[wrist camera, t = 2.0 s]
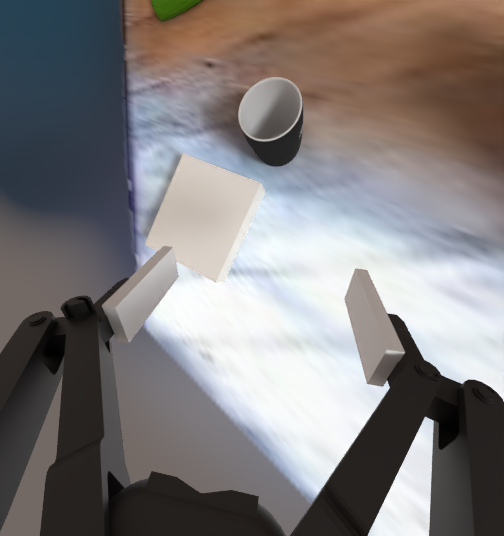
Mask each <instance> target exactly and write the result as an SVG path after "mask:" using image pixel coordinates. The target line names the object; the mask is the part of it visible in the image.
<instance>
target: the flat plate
mask: <svg viewBox="0 0 504 536" xmlns="http://www.w3.org/2000/svg"><path fill="white" fill-rule="evenodd" d="M265 193H266V191H265V189H264V188H263V186H262V184H261V183H260V182H257V181H254V180H252V179H249V178H246V177H244V176H241V175H239V174H236V173H233V172H231V171H228V170H225V169H223V168H220V167H218V166H215V165H212V164H210V163H207V162H204V161H202V160H199V159H197V158H194V157H191V156H189V155H186V154H183V155H182V157H181V159H180V162H179V164H178V166H177V169H176V171H175V174H174V176H173V178H172V181H171V183H170V185H169V188H168V190H167V192H166V195H165V197H164V200H163V202H162V204H161V207H160V209H159V211H158V214H157V216H156V218H155V221H154V223H153V226H152V228H151V230H150V233H149V235H148V237H147V240H146V242H145V245H147V246H149V247H151V248H152V249H154V250H156V251H159V250H160V249H161V248H162V247H163V246H170V247H173V248H174V254H175V260H176V261H177V262H179V263H181V264H182V265H184V266H186V267H188V268H190V269H192V270H194V271H195V272H197V273H199V274H201V275H203V276H205V277H207V278H209V279H210V280H212V281H214V282H225V280H226V278H227V275H228V273H229V271H230V269H231V267H232V265H233V262H234V260H235V258H236V256H237V254H238V252H239V249H240V247H241V245H242V243H243V241H244V238H245V236H246V234H247V232H248V230H249V228H250V225H251V223H252V221H253V219H254V217H255V215H256V212H257V210H258V208H259V206H260V204H261V201H262V199H263V197H264V195H265Z"/></svg>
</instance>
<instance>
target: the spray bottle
mask: <svg viewBox="0 0 504 536" xmlns="http://www.w3.org/2000/svg"><path fill="white" fill-rule="evenodd" d="M201 1H202V0H151V2H152V6H153V8H154V10H155V12H156V14H157V16H158V18H159V19H160V20H161V21H165V20H169V19H171V18H173V17H175V16H177V15H179V14H181V13H183V12H185V11H187V10H188V9H190V8H192V7H193V6H195V5H196V4H198V3H199V2H201Z"/></svg>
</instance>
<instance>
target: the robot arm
mask: <svg viewBox="0 0 504 536" xmlns="http://www.w3.org/2000/svg"><path fill="white" fill-rule="evenodd" d="M177 278H178V272H177V266H176V260H175V254H174V248H173V247H170V246H163V247H162V248H161V249H160V250H159V251H158V252H157V253H156V254H155V255H154V256H153V257H151V258H150V259H149V260H148V261H147V262H146V263H145V264H144V265H143V266H142V267H141V268H140V269H139V270H138V271H137V272H136V273H135V274H134V275H133V276H132V277H131V278H125V279H123V280H121V281H119V282H117V283H116V284H115V285H114V286H113V287H112V289H110V290H109V291H108V292H107V293H105V295H103V296H102V297H101V298H100V299H99V300H98V301H97V302H96V303H95V304H93V302H92V300H91V298H90V297H88V296H78V297H74V298H71V299H69V300H68V301H66V302H65V303H64V304H63V305H62V306H61V310H62V312H63V314H64V315H65V317H59V318H55V317H54V315H53V314H52V313H51V312H48V311H42V312H38V313H35V314H33V315H31V316H29V317H27V318H26V319H25V320H24V321H23V322H22V323H21V324H20V326H19V327H18V329H17V330H16V332H15V333H14V334H13V336H12V338H11V339H10V340H9V342H8V343H7V345H6V346H5V348H4V349H3V351H2V352H1V354H0V531H1V529H2V526H3V524H4V522H5V519H6V517H7V515H8V512H9V510H10V507H11V504H12V502H13V499H14V497H15V494H16V492H17V489H18V487H19V484H20V481H21V479H22V476H23V474H24V471H25V469H26V466H27V464H28V461H29V459H30V456H31V453H32V451H33V448H34V446H35V443H36V441H37V438H38V435H39V433H40V431H41V428H42V426H43V423H44V420H45V418H46V415H47V413H48V410H49V408H50V405H51V403H52V400H53V397H54V395H55V392H56V390H57V387H58V385H59V382H60V379H61V377H62V375H63V381H62V393H61V406H60V419H59V431H58V445H57V456H56V461H55V463H54V464H52V465H51V466H50V467H49V469H48V471H47V476H46V482H45V491H44V502H43V511H42V520H41V531H40V536H286V535H285V533H284V532H283V530H282V528H281V526H280V525H279V523H278V522H277V521H276V519H275V518H274V517H273V515H272V514H271V513H270V512H269V511H268V510H267V509H265V508H264V507H263V506H261V505H260V504H259V503H258V496H254V495H250V494H246V493H241V492H237V491H233V490H229V491H220V492H211V493H199V492H198V491H196V490H195V489H193V488H192V487H190V486H189V485H188V484H186V483H184V482H183V481H182V480H180V479H179V478H177V477H174V476H170V475H166V474H161V473H157V472H153V471H152V472H151V474H150V477H149V479H144V480H141V481H138V482H136V483H134V484H130V479H129V475H128V472H127V468H126V465H125V458H124V449H123V440H122V432H121V423H120V415H119V406H118V397H117V389H116V380H115V371H114V363H113V354H112V346H111V342H110V338H111V337H112V336H113V335H115V338H116V340H117V341H121V342H127V343H130V341H131V340H132V339H133V337H134V335H135V334H136V333H137V332H138V330H139V329H140V328H141V326H142V325H143V324H144V322H145V321H146V320H147V318H148V317H149V316H150V314H151V313H152V312H153V310H154V309H155V308H156V306H157V305H158V304H159V302H160V301H161V299H162V298H163V297H164V295H165V294H166V293H167V291H168V290H169V289H170V287H171V286H172V285H173V283H174V282H175V281H176V279H177ZM345 303H346V306H347V310H348V314H349V318H350V321H351V325H352V329H353V333H354V336H355V340H356V344H357V348H358V352H359V355H360V359H361V363H362V367H363V370H364V374H365V378H366V382H367V384H371V385H377V386H382V387H383V386H384V384H385V383H386V381H388V384H389V386H390V389H389V390H388V392H387V393H386V395H385V396H384V397H383V399H382V401H381V402H380V403H379V405H378V406H377V408H376V409H375V411H374V412H373V414H372V415H371V417H370V418H369V420H368V421H367V423H366V424H365V426H364V427H363V429H362V430H361V432H360V433H359V435H358V436H357V438H356V439H355V441H354V442H353V443H352V445H351V446H350V448H349V449H348V451H347V452H346V454H345V455H344V457H343V458H342V460H341V461H340V463H339V464H338V466H337V467H336V469H335V470H334V472H333V473H332V475H331V476H330V478H329V479H328V480H327V482H326V483H325V485H324V486H323V488H322V489H321V491H320V492H319V494H318V495H317V497H316V498H315V500H314V501H313V503H312V504H311V506H310V508H309V509H308V510H307V512H306V513H305V514H304V516H303V517H302V519H301V520H300V522H299V523H298V525H297V526H296V528H295V529H294V531H293V532H292V534H291V535H290V536H368V533H369V531H370V529H371V527H372V525H373V523H374V521H375V519H376V516H377V514H378V512H379V510H380V508H381V506H382V504H383V502H384V500H385V498H386V496H387V494H388V492H389V490H390V488H391V486H392V484H393V481H394V479H395V477H396V475H397V473H398V471H399V469H400V467H401V465H402V463H403V461H404V459H405V457H406V455H407V453H408V451H409V448H410V446H411V444H412V442H413V440H414V438H415V436H416V434H417V432H418V430H419V428H420V426H421V424H422V422H423V420H424V418H425V417H427V418H429V419H432V420H434V431H433V455H432V480H431V505H430V530H429V536H504V402H503V399H502V398H501V397H500V396H499V394H498V393H497V392H496V391H494V390H493V389H492V388H491V387H489V386H488V385H486V384H484V383H482V382H479V381H477V380H467V381H465V382H464V383H463V384H461V383H458V382H456V381H453V380H451V379H448V378H446V377H444V376H442V375H441V374H440V372H439V371H438V370H437V368H436V367H435V366H433V365H432V364H431V363H429V362H427V361H425V360H424V359H423V357H422V355H421V353H420V351H419V349H418V348H417V346H416V344H415V342H414V340H413V338H412V337H411V334H410V332H409V331H408V329H407V327H406V325H405V323H404V321H402V320H401V319H400V318H399V317H398V316H397V315H394V314H387V312H386V310H385V308H384V306H383V304H382V301H381V299H380V297H379V295H378V293H377V291H376V288H375V286H374V284H373V282H372V280H371V278H370V276H369V273H368V271H367V270H363V269H355V271H354V274H353V276H352V279H351V282H350V285H349V288H348V291H347V294H346V296H345Z"/></svg>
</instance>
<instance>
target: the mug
mask: <svg viewBox="0 0 504 536" xmlns="http://www.w3.org/2000/svg"><path fill="white" fill-rule="evenodd" d="M238 120H239V124H240V127H241V130H242V132H243V134H244V136H245V137H246V139H247V141H248V143H249V144H250V146H251V147H252V149H253V150H254V151H255V153H256V154H257V155H258V156H259V158H260V159H261V160H262V161H264V162H265V163H266V164H268V165H271V166H283V165H285V164H287V163H289V162H290V161H291V160H292V159H293V158H294V157H295V156H296V154H297V152H298V150H299V147H300V143H301V138H302V130H303V101H302V96H301V93H300V91H299V89H298V87H297V86H296V85H295V84H294V83H293V82H291V81H290V80H288V79H285V78H281V77H271V78H267V79H264V80H261V81H259V82H258V83H256V84H255V85H253V86H252V87H251V88H250V89H249V90H248V91H247V92H246V94H245V95H244V97H243V99H242V101H241V103H240V106H239V110H238Z"/></svg>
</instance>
